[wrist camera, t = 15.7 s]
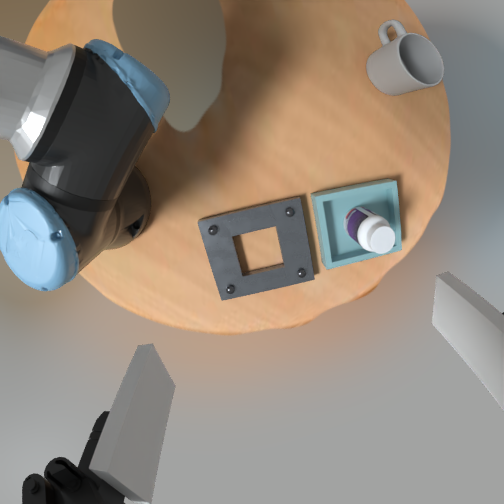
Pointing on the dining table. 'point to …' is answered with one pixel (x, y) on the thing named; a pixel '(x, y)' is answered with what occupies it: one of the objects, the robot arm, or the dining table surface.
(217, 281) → the plate
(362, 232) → the pill bottle
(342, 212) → the tray
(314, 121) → the dining table surface
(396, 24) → the mug
